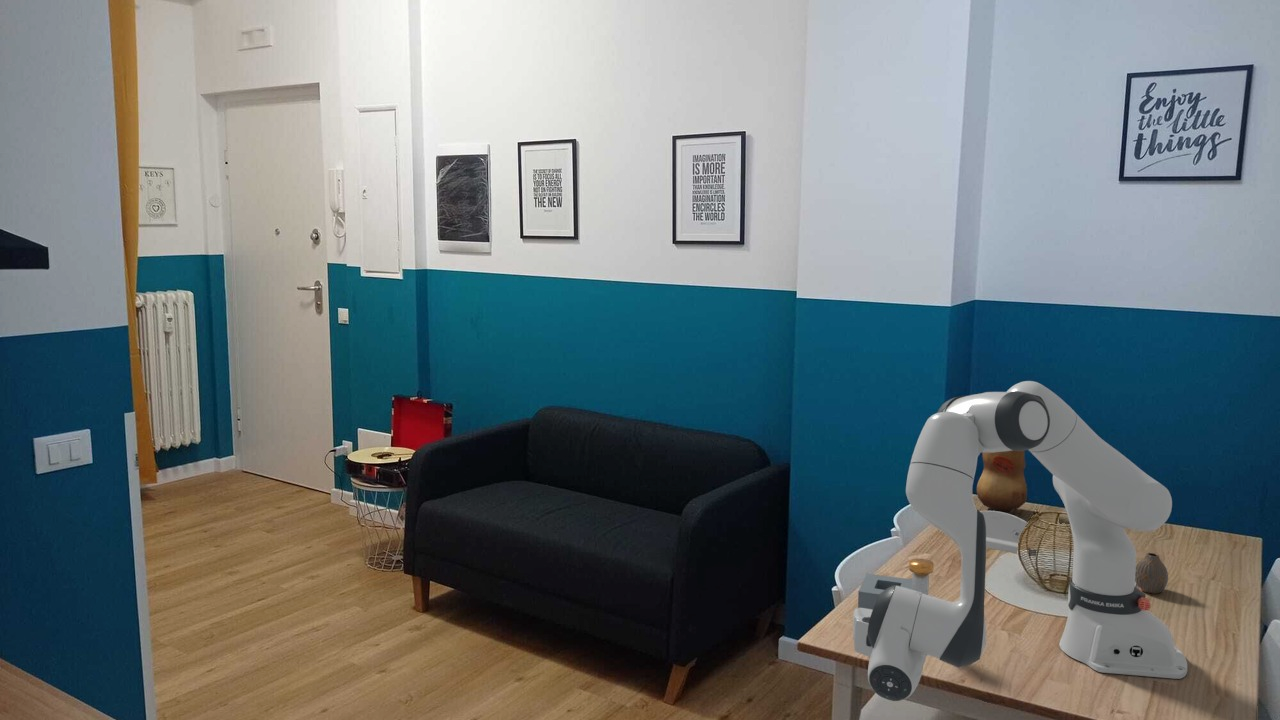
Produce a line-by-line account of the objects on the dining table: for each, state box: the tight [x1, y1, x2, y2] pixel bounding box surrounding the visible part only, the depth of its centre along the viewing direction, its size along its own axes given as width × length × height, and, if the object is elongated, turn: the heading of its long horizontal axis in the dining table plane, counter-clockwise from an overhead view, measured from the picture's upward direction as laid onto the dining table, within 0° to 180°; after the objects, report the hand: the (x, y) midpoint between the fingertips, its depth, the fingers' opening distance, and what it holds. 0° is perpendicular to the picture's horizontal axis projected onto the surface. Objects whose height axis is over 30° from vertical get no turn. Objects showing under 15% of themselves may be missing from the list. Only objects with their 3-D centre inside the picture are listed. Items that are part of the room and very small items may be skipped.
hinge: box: [979, 510, 1029, 555], centre depth 243 cm, size 17×5×10 cm, turn 53°
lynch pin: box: [908, 558, 935, 595], centre depth 189 cm, size 5×5×16 cm
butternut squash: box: [976, 450, 1028, 514], centre depth 269 cm, size 14×13×25 cm
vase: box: [1135, 552, 1169, 595], centre depth 212 cm, size 7×7×9 cm
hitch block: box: [857, 573, 913, 610], centre depth 203 cm, size 11×11×6 cm
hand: (912, 613), depth 178 cm, fingers open, 8 cm apart
